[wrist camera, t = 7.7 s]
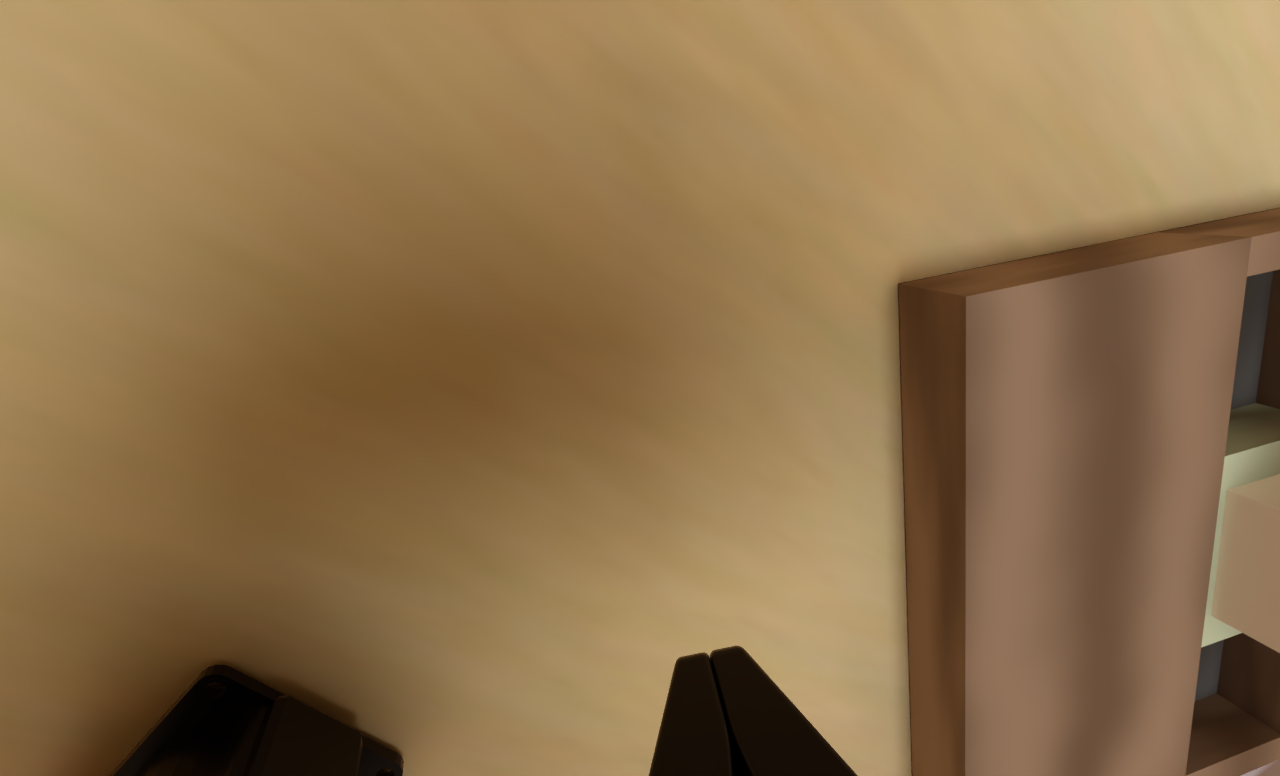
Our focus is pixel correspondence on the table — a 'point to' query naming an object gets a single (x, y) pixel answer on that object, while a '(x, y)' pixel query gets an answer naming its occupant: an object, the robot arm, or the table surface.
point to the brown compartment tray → (1089, 505)
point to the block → (1250, 562)
